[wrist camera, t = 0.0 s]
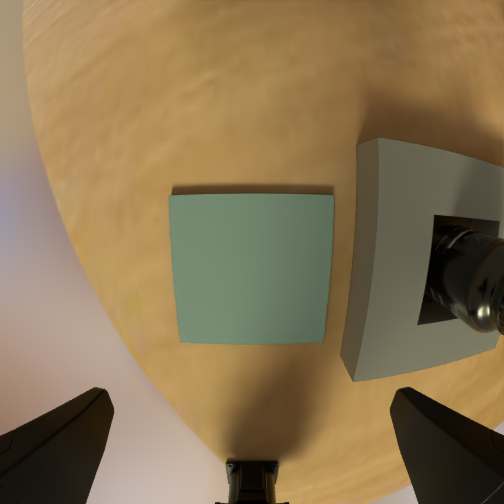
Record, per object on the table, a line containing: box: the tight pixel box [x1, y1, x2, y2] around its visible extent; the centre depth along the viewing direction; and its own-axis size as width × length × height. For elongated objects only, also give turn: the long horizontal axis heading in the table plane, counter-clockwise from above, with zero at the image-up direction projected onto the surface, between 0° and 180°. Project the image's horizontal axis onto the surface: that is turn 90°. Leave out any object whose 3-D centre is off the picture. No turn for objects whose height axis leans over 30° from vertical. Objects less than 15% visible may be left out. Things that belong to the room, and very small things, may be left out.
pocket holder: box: [340, 137, 504, 382], centre depth 19 cm, size 18×18×4 cm
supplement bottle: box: [424, 223, 504, 335], centre depth 15 cm, size 7×7×12 cm
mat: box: [169, 193, 334, 345], centre depth 21 cm, size 12×12×1 cm
